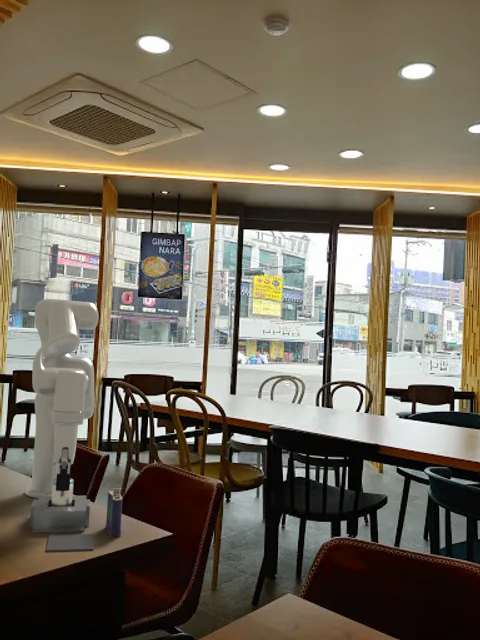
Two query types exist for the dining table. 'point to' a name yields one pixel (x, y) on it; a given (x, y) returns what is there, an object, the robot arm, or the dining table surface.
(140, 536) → the dining table surface
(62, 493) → the light piece
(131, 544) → the dining table surface
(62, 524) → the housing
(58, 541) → the mat
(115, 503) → the flask
